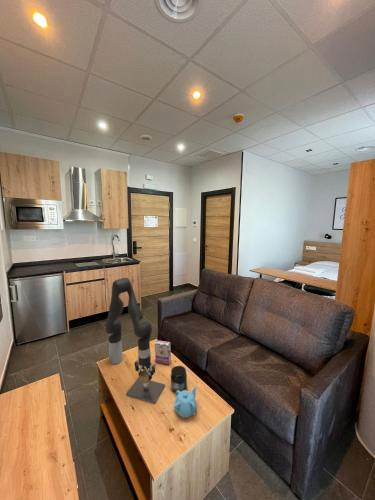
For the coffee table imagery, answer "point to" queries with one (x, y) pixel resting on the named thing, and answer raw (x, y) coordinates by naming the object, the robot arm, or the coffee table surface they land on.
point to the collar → (144, 377)
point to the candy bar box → (163, 352)
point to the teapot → (185, 403)
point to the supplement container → (178, 378)
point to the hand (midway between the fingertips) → (145, 378)
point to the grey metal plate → (146, 391)
